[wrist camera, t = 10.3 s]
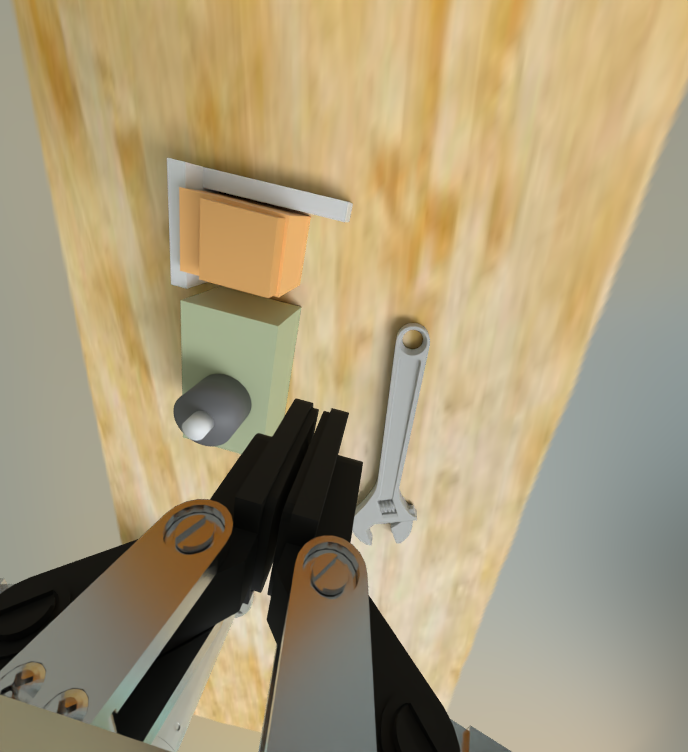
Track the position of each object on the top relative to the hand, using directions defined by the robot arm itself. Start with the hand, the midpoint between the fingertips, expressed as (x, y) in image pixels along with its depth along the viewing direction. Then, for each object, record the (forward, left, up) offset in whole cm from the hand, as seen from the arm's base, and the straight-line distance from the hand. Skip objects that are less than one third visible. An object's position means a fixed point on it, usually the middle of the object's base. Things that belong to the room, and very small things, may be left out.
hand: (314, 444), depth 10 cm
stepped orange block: (+3, +9, -18) cm, 20 cm away
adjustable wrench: (-13, -6, -18) cm, 23 cm away
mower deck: (-3, +8, -18) cm, 20 cm away
